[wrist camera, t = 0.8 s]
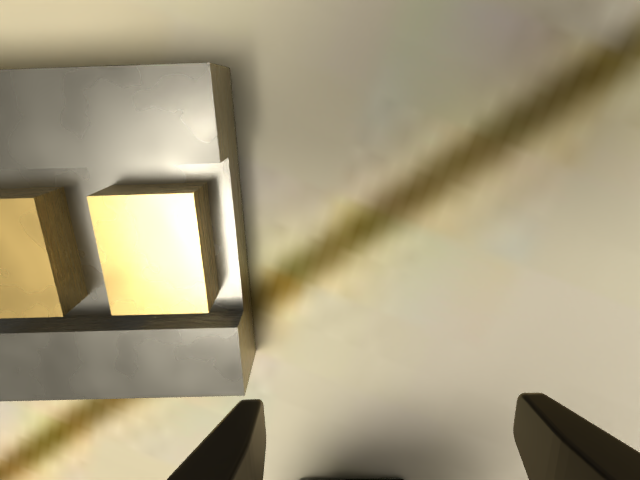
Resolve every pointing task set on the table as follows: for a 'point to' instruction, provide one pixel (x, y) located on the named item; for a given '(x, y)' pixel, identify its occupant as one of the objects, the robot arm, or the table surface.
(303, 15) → the table surface
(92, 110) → the slotted plate
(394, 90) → the table surface
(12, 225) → the brass chip
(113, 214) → the brass chip
